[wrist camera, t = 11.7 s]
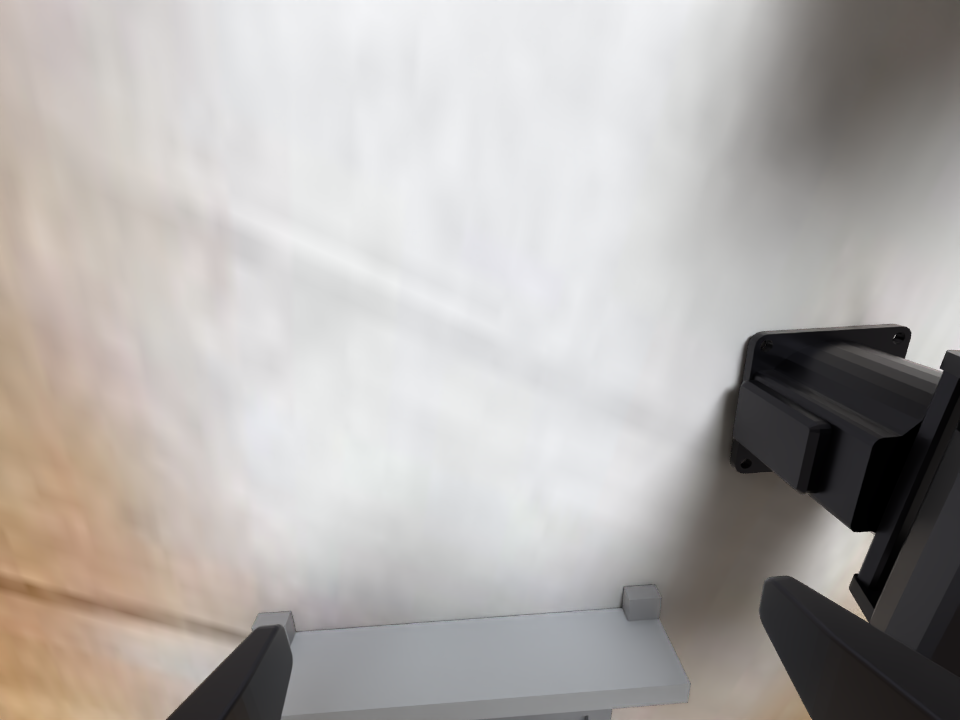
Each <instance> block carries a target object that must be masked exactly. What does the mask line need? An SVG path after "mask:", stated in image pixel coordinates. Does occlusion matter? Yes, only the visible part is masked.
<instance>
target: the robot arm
mask: <svg viewBox="0 0 960 720" xmlns="http://www.w3.org/2000/svg"><path fill="white" fill-rule="evenodd" d="M894 335H896V336H895V338H894V339H893V337H894ZM910 339H911V331H910V329H909V328H907V327H905V326H901V325H897V324H882V325H865V326H848V327H830V328H813V329H796V330H779V331H762V332H758V333H756V334H755V335H753V336H752V338H751V339H750V341H749V344H748V350H747V357H746V363H745V369H744V375H743V382H742V384H741V386H740V391H739V398H738V404H737V410H736V416H735V423H734V429H733V437H734V438H733V444H732V450H731V457H730V464H731V465H732V467H734V468H735V469H736V470H737V471H738V472H740V473H758V472H774V473H776V474H777V475H778V476H779V477H780V478H782V479H783V480H784V481H785V482H786V483H788V484H789V485H790V486H791V487H792V488H793V489H795V490H796V491H797V492H798V493H800V494H808V495H809V496H811V497H812V498H813V499H814V500H815V501H817V502H818V503H819V504H820V505H822V506H823V507H824V508H825V509H826V510H828V511H829V512H830V513H831V514H832V515H834V516H835V517H836V518H837V519H839V520H840V521H841V522H842V523H843V524H845V525H846V526H847V527H848V528H849V529H851V530H852V531H853V532H868V531H870V532H871V533H873V534H874V535H875V536H874V538H873V540H872V543H871V545H870V547H869V550H868V552H867V555H866V557H865V559H864V562H863V564H862V567H861V569H860V571H859V574H854V576H853V578H852V581H851V583H850V586H849V590H850V592H851V593H852V595H853V597H854V598H855V600H856V602H857V603H858V605H859V607H860V609H861V610H862V612H863V614H864V615H865V617H866V619H867V620H868V622H869V623H868V622H866V621H865V620H863V619H861V618H860V617H858V616H856V615H855V614H853V613H851V612H850V611H848V610H846V609H845V608H843V607H841V606H840V605H838V604H836V603H835V602H833V601H831V600H830V599H828V598H826V597H825V596H823V595H821V594H820V593H818V592H816V591H815V590H813V589H811V588H810V587H808V586H806V585H805V584H803V583H801V582H800V581H798V580H796V579H794V578H792V577H790V576H777V577H769V578H767V579H766V580H765V581H764V585H763V591H762V596H761V602H760V607H759V613H760V619H761V621H762V624H763V626H764V628H765V630H766V632H767V634H768V636H769V638H770V640H771V642H772V644H773V646H774V647H775V649H776V651H777V653H778V655H779V657H780V659H781V661H782V663H783V665H784V667H785V669H786V671H787V673H788V675H789V677H790V679H791V681H792V682H793V684H794V686H795V688H796V690H797V692H798V694H799V696H800V698H801V700H802V702H803V704H804V705H805V707H806V709H807V711H808V713H809V715H810V717H811V718H812V720H960V350H947V351H946V354H945V356H944V359H943V361H942V364H941V366H940V369H942V370H944V371H943V372H941V371H938V370H936V369H933V368H930V367H927V366H924V365H921V364H918V363H915V362H912V361H909V360H906V359H905V356H906V353H907V349H908V346H909V342H910ZM764 341H766V342H767V343H766V345H765V346H764V347H763V348H761V347H760V346H761V344H762V343H763V342H764ZM744 459H746V461H745V462H744V463H741V462H742V461H743V460H744ZM292 666H293V655H292V651H291V648H290V644H289V641H288V638H287V634H286V631H285V628H284V626H283V625H282V624H279V623H277V624H267V625H261V626H259V627H257V628H256V629H255V630H254V631H253V632H252V633H251V634H250V635H249V636H248V637H247V638H246V639H245V640H244V641H243V642H242V643H241V644H240V645H239V646H238V647H237V648H236V649H235V650H234V651H233V652H232V653H231V654H230V655H229V656H228V657H227V658H226V659H225V660H224V661H223V662H222V663H221V664H220V665H219V666H218V667H217V668H216V669H215V670H214V671H213V672H212V673H211V674H210V675H209V676H208V677H207V678H206V679H205V680H204V681H203V682H202V683H201V684H200V685H199V686H198V687H197V688H196V690H195V691H194V692H193V693H192V694H191V695H190V696H189V697H188V698H187V699H186V700H185V701H184V702H183V703H182V704H181V705H180V706H179V707H178V708H177V709H176V710H175V711H174V712H173V713H172V714H171V715H170V716H169V717H168V718H167V719H166V720H281V716H282V712H283V707H284V703H285V698H286V694H287V689H288V685H289V681H290V676H291V672H292Z"/></svg>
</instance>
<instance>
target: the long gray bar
mask: <svg viewBox="0 0 960 720" xmlns="http://www.w3.org/2000/svg"><path fill="white" fill-rule="evenodd" d="M661 600H662V597H661V595H660V593H659V591H658V589H657V587H656V585H642V586H628V587H624V593H623V606H622V608H611V609H598V610H585V611H571V612H558V613H544V614H531V615H517V616H504V617H491V618H477V619H464V620H450V621H437V622H423V623H410V624H397V625H383V626H370V627H356V628H343V629H329V630H316V631H303V632H296V630H295V626H294V622H293V618H292V614H291V611H287V612H273V613H259V614H258V616H257V618H256V620H255V622H254V624H253V626H252V632H253V631H254V630H255V629H256V628H257V627H259V626H261V625H267V624H277V623H279V624H282V625H283V626H284V628H285V631H286V634H287V638H288V641H289V644H290V648H291V651H292V655H293V666H292V672H291V676H290V681H289V685H288V689H287V694H286V698H285V703H284V707H283V712H282V716H281V720H478V719H490V718H503V717H515V716H527V715H540V714H552V713H565V712H577V711H589V710H602V709H614V708H627V707H639V706H651V705H664V704H676V703H688V698H689V691H690V685H691V683H690V681H689V679H688V677H687V675H686V673H685V671H684V669H683V667H682V665H681V663H680V660H679V658H678V656H677V654H676V652H675V650H674V648H673V646H672V644H671V642H670V640H669V638H668V636H667V634H666V632H665V630H664V628H663V625H662V623H661V621H660V619H659V617H660V609H661Z"/></svg>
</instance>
